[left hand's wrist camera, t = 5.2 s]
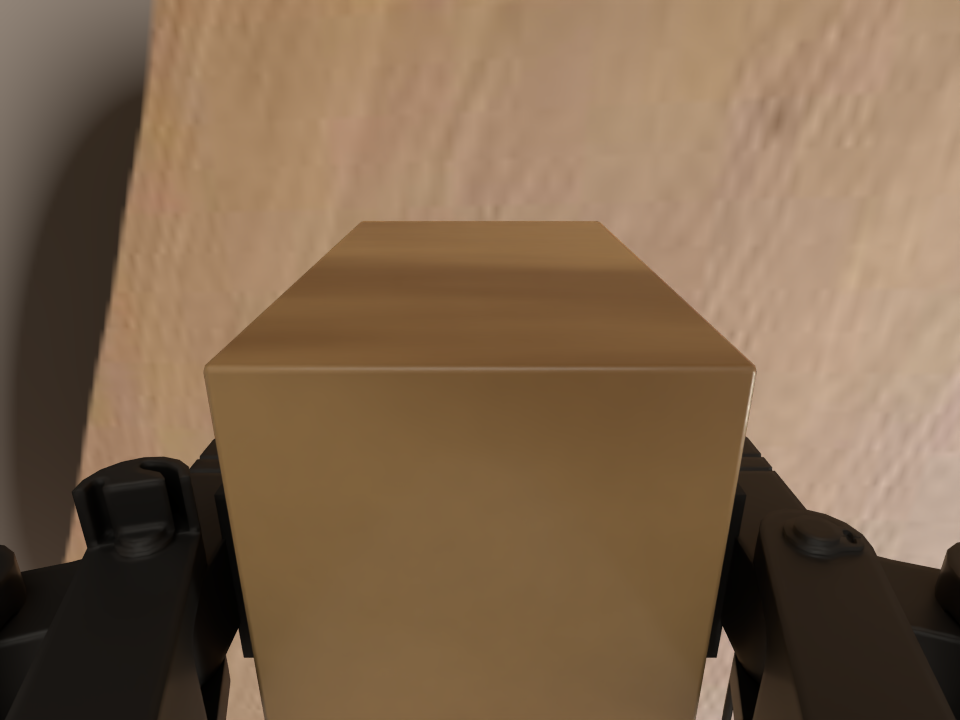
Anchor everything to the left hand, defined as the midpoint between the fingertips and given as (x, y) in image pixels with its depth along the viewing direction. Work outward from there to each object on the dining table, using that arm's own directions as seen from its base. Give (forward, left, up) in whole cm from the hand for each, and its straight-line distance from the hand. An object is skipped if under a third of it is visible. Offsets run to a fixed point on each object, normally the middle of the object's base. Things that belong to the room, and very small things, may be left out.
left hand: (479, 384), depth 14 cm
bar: (+6, +4, -1) cm, 7 cm away
